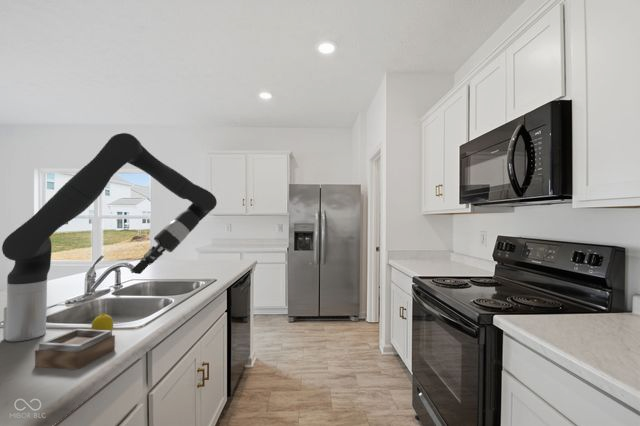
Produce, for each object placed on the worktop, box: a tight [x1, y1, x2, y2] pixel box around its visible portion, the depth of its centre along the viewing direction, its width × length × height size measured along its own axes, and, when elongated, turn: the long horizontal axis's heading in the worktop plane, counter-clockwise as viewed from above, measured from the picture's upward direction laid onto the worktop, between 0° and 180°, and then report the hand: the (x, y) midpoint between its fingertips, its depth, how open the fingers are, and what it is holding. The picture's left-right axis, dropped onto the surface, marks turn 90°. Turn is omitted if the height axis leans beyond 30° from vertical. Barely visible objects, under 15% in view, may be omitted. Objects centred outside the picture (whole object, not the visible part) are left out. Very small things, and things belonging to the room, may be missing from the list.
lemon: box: [91, 313, 114, 332], centre depth 97 cm, size 6×6×8 cm
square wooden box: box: [34, 328, 116, 370], centre depth 85 cm, size 12×12×6 cm
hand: (135, 272), depth 102 cm, fingers open, 8 cm apart
